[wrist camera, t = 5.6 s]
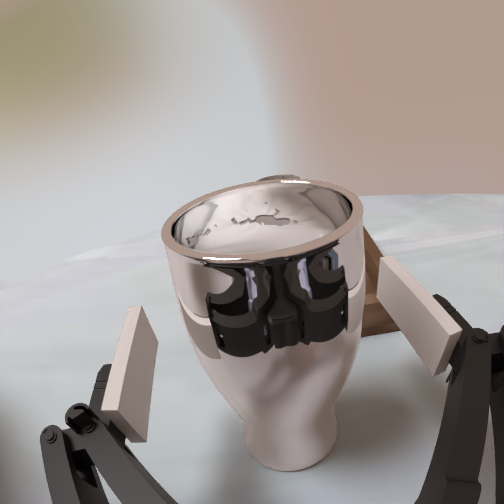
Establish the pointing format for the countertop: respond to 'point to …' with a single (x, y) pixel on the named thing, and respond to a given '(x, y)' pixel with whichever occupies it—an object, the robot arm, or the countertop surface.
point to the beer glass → (273, 306)
